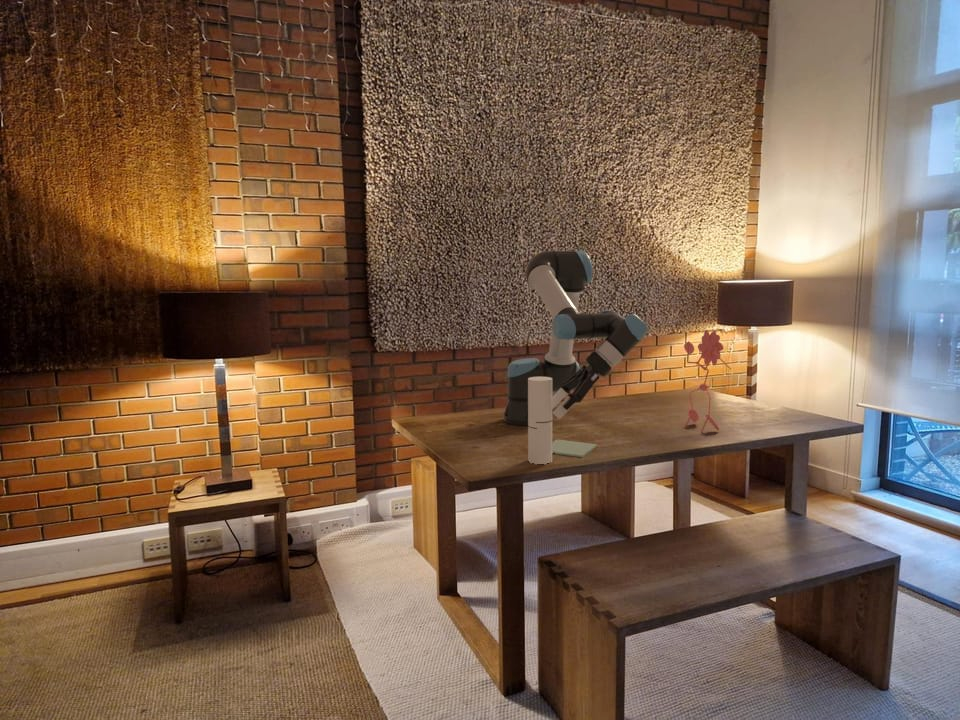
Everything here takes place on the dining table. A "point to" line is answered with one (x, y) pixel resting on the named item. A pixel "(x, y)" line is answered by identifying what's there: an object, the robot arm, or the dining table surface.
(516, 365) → the robot arm
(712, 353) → the figurine
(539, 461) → the cylindrical container
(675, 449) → the dining table surface
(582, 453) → the rubber mat
